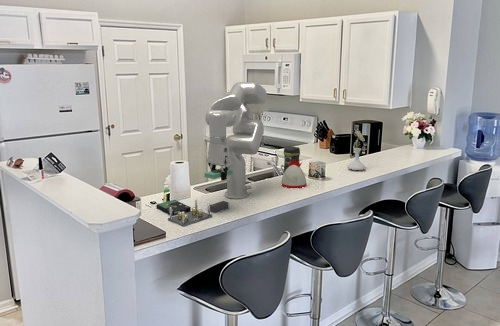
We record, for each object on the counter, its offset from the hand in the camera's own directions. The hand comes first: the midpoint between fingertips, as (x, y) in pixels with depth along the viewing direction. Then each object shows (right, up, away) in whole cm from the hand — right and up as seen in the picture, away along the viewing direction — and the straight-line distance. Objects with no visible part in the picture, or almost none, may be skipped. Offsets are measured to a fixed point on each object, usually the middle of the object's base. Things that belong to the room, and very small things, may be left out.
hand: (218, 178), depth 201 cm
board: (0, +1, 0) cm, 1 cm away
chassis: (-12, -17, -9) cm, 23 cm away
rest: (0, -15, +3) cm, 15 cm away
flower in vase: (+83, +3, +82) cm, 117 cm away
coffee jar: (+39, -1, +64) cm, 76 cm away
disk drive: (-21, -15, +3) cm, 27 cm away
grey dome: (+39, -6, +45) cm, 60 cm away
